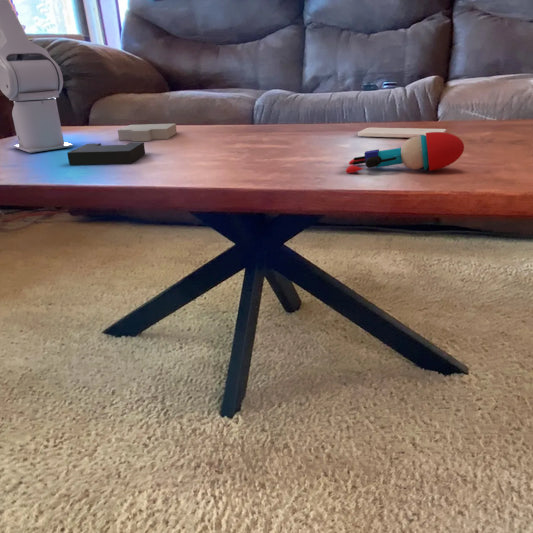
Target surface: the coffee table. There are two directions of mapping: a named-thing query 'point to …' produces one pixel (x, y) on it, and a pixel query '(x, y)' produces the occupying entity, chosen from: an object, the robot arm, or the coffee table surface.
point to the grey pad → (147, 132)
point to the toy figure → (415, 153)
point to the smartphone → (397, 132)
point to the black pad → (106, 154)
